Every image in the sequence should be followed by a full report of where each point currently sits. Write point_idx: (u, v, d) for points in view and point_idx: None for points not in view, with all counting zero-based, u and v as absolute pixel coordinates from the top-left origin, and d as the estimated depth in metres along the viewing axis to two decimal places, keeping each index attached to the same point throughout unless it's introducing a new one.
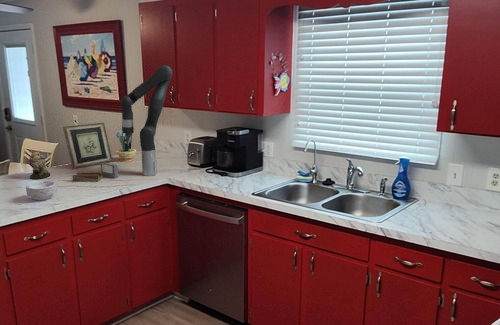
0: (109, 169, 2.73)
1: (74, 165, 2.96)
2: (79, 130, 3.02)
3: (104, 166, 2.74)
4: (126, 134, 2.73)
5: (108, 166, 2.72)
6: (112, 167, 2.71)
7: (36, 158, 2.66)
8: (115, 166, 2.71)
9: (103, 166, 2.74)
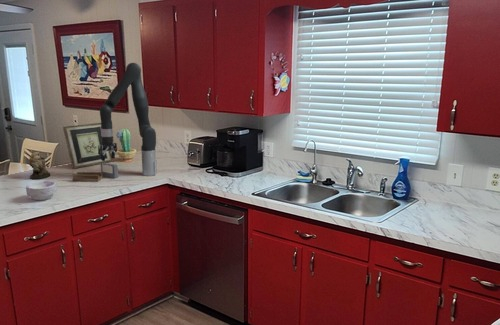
0: (109, 169, 2.73)
1: (74, 165, 2.96)
2: (79, 130, 3.02)
3: (104, 166, 2.74)
4: None
5: (108, 166, 2.72)
6: (112, 167, 2.71)
7: (36, 158, 2.66)
8: (115, 166, 2.71)
9: (103, 166, 2.74)
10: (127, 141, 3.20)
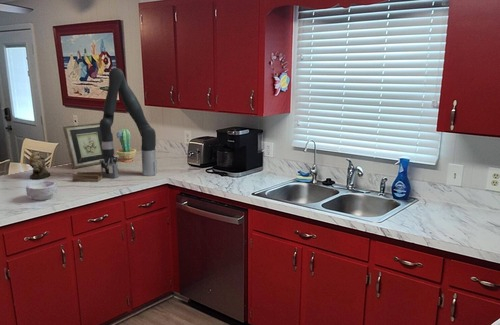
0: (109, 169, 2.73)
1: (74, 165, 2.96)
2: (79, 130, 3.02)
3: None
4: None
5: None
6: (112, 167, 2.71)
7: (36, 158, 2.66)
8: (115, 166, 2.71)
9: None
10: (127, 141, 3.20)
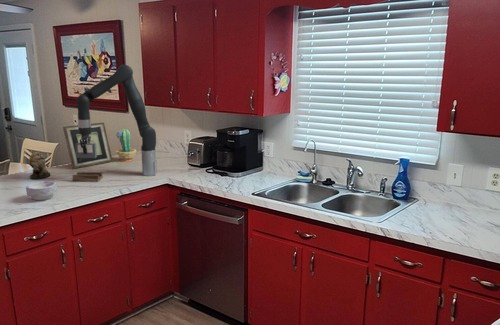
0: (87, 149, 2.63)
1: (74, 165, 2.96)
2: None
3: None
4: None
5: (87, 146, 2.62)
6: (92, 146, 2.62)
7: (36, 158, 2.66)
8: (95, 145, 2.64)
9: (79, 146, 2.62)
10: (127, 141, 3.20)
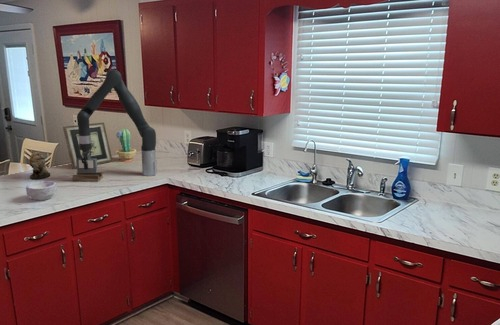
0: (88, 164, 2.65)
1: (74, 165, 2.96)
2: None
3: (81, 162, 2.64)
4: None
5: None
6: (93, 161, 2.65)
7: (36, 158, 2.66)
8: (95, 160, 2.66)
9: (80, 162, 2.64)
10: (127, 141, 3.20)
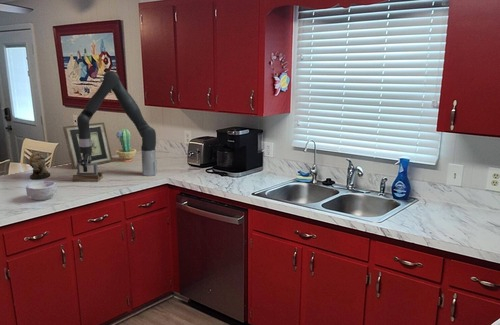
0: (88, 169, 2.66)
1: (74, 165, 2.96)
2: None
3: (82, 166, 2.65)
4: None
5: (88, 166, 2.65)
6: (93, 166, 2.65)
7: (36, 158, 2.66)
8: (96, 165, 2.67)
9: (81, 167, 2.65)
10: (127, 141, 3.20)
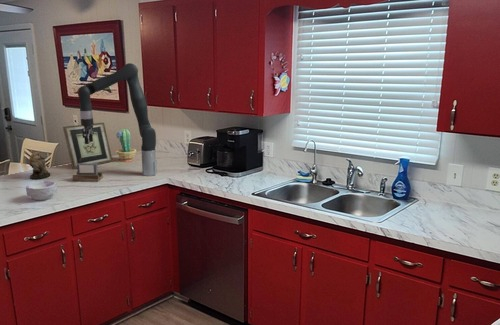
0: (89, 169, 2.66)
1: (74, 165, 2.96)
2: (79, 130, 3.02)
3: (82, 166, 2.65)
4: None
5: (88, 166, 2.65)
6: (93, 166, 2.65)
7: (36, 158, 2.66)
8: (96, 165, 2.67)
9: (81, 167, 2.65)
10: (127, 141, 3.20)
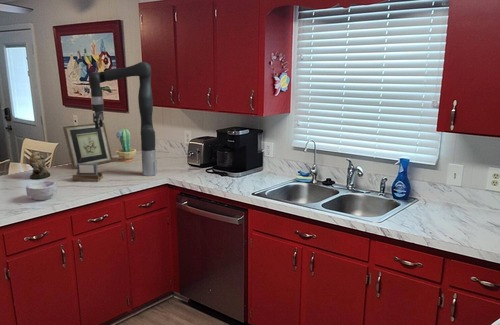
0: (89, 169, 2.66)
1: (74, 165, 2.96)
2: (79, 130, 3.02)
3: (82, 166, 2.65)
4: None
5: (88, 166, 2.65)
6: (93, 166, 2.65)
7: (36, 158, 2.66)
8: (96, 165, 2.67)
9: (81, 167, 2.65)
10: (127, 141, 3.20)
